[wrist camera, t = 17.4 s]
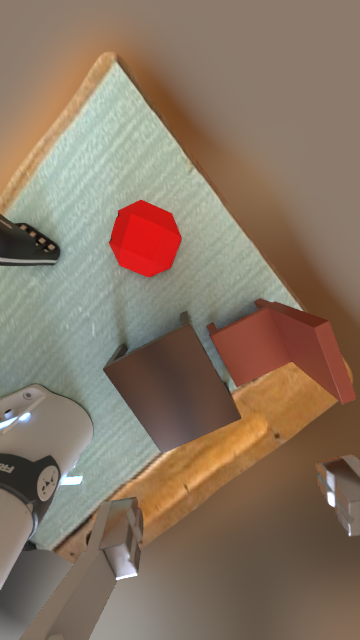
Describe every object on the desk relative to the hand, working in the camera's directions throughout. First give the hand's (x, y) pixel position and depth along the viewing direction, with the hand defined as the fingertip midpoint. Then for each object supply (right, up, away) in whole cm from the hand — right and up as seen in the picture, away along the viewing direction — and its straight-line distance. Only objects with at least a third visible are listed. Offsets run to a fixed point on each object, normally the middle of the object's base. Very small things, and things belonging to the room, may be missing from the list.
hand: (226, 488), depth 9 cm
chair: (+9, +5, +25) cm, 27 cm away
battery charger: (-22, +19, +21) cm, 36 cm away
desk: (-3, -1, +26) cm, 26 cm away
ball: (-6, +19, +21) cm, 29 cm away
